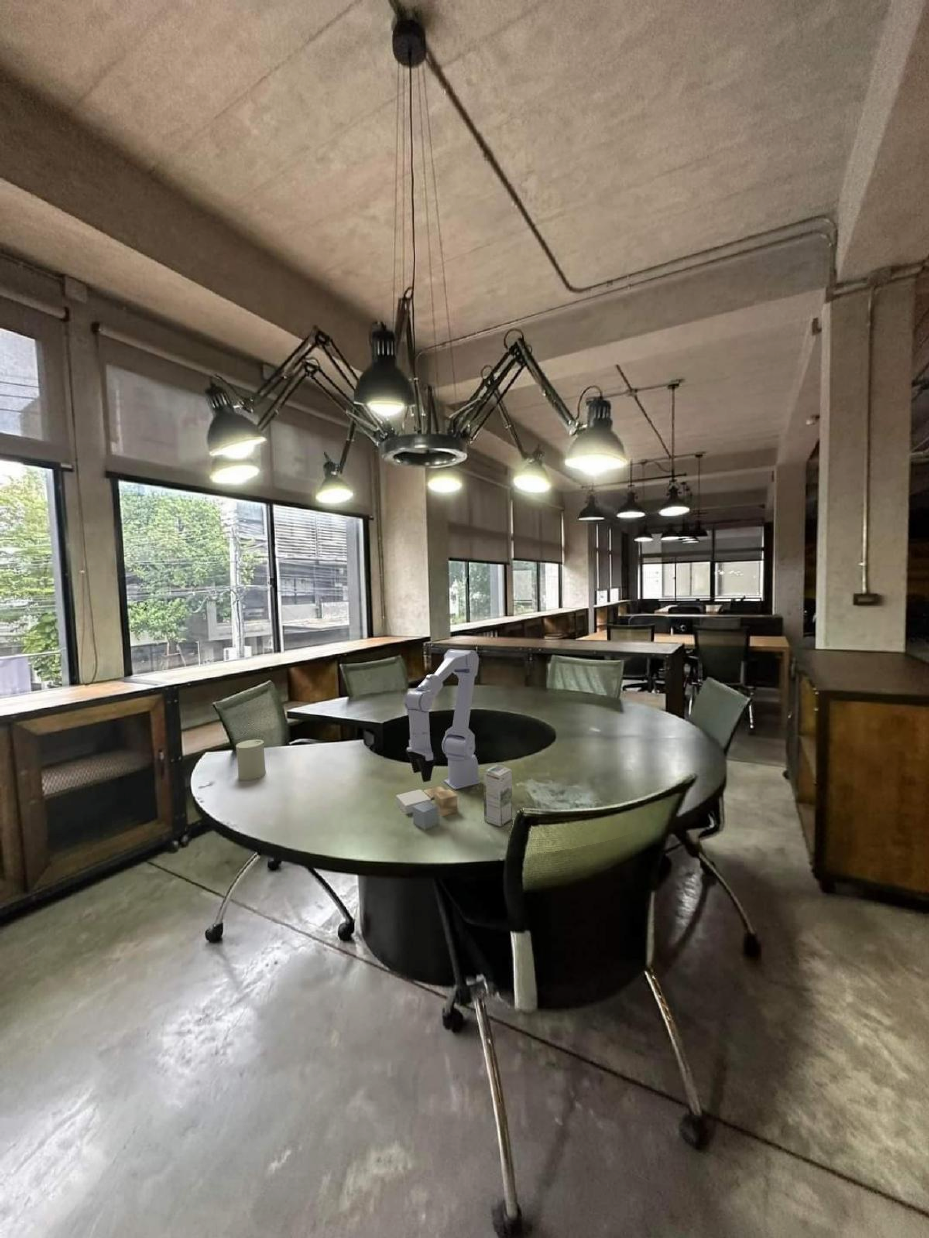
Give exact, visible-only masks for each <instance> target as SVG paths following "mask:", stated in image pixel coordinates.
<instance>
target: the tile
mask: <svg viewBox="0 0 929 1238" xmlns="http://www.w3.org/2000/svg"><path fill="white" fill-rule="evenodd" d="M444 790H446V789H444V788H443V787H442V786H441V785H440V786H436V787H432V788H428V789H424V790H422V791H423V792H424V793H425V794H426V795H427V796H428V797H429V798H430V799H431V801H433V800H434V793H436V792H440V791H444Z"/></svg>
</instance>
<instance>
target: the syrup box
mask: <svg viewBox="0 0 929 1238" xmlns="http://www.w3.org/2000/svg"><path fill="white" fill-rule="evenodd" d="M512 771H513V770H512V769H510V768H508V767H505V766H502V765H493V766H491V767H490V768H487V769H486V770H484V771H483V773H482V775H483V821H484V822H486V823H489V824H491V825H494V826H498V827H500V828H501V827H502V826H504V825H506V824H507V823H509V821H511V820H512V819H513V786H512V784H513V781H512V780H513V779H512V777H513V776H512V775H513V773H512Z"/></svg>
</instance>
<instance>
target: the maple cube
mask: <svg viewBox="0 0 929 1238" xmlns="http://www.w3.org/2000/svg"><path fill="white" fill-rule="evenodd" d="M434 804H435V805H437V806H438V815H440V816H441V817H444V816H448V815H451V814H455V813H458V812H459V811H458V809H459V808H458V795H457V794H456V793H455V792H453V791H452V790H451V789H450V788H448V789H445V790H444V791H440V792H436V793H434Z"/></svg>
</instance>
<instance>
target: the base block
mask: <svg viewBox="0 0 929 1238" xmlns="http://www.w3.org/2000/svg"><path fill="white" fill-rule="evenodd" d="M395 799H396V800H395V802H396V805H397V807H399V808H400V809H401V810H402V812H403V813H404V814H405V815H408V814H409V815H410V814H413V806H415V805H417V804H420V803H422V802H425V801H429V802H431V803H432V800H431V799H430V798H429V797H428V796H427V795H426V794H425V793H424V792H423V790H422V789H420V788H419V789H416V790H412V791H407V792H404V793H400V794H396V795H395Z"/></svg>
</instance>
